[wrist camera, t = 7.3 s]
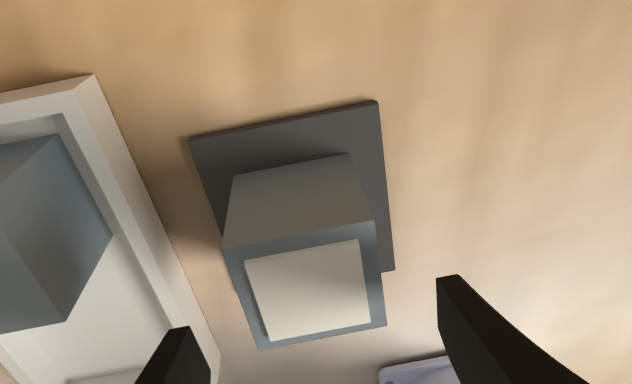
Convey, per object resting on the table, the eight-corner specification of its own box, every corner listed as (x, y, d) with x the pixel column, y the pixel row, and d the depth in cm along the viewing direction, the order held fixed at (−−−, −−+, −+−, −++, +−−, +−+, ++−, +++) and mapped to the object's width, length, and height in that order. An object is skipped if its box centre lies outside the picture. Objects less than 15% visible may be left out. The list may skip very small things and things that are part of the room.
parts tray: (221, 355, 22) (217, 386, 20) (66, 384, 22) (50, 418, 20) (94, 73, 14) (72, 89, 12) (-143, 121, 14) (-194, 143, 13)
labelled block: (362, 244, 18) (388, 330, 14) (261, 264, 18) (258, 355, 14) (349, 152, 16) (375, 223, 12) (233, 175, 16) (220, 253, 12)
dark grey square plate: (393, 264, 19) (395, 270, 19) (245, 293, 20) (245, 299, 19) (376, 100, 15) (378, 104, 15) (189, 137, 15) (187, 142, 15)
